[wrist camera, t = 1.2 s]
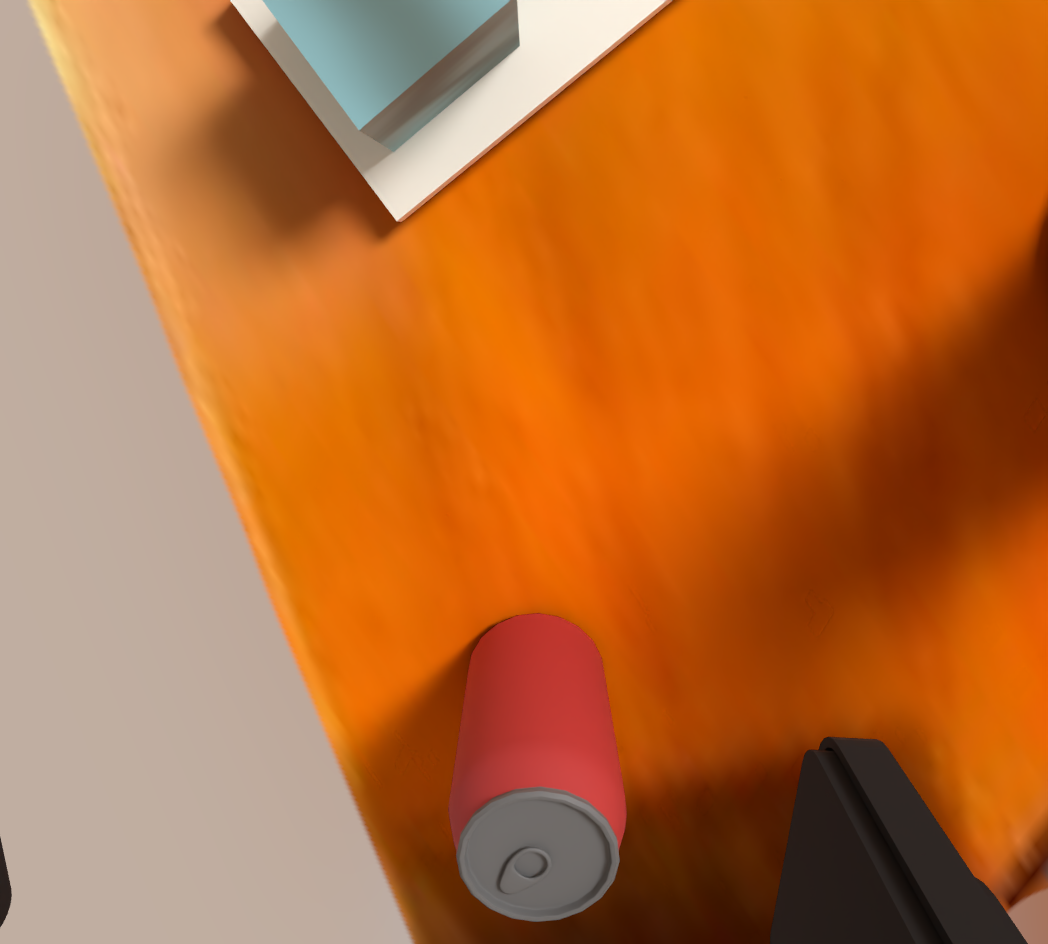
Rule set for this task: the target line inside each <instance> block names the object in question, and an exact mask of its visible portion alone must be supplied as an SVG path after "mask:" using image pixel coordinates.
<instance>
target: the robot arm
mask: <svg viewBox="0 0 1048 944" xmlns="http://www.w3.org/2000/svg"><path fill="white" fill-rule="evenodd" d="M11 896H12V894H11V886H10V881H9V877H8V871H7V867H6V862H5V857H4V852H3V848H2V843H1V838H0V927H1V925H2V924H3V922H4V920H5V918H6V916H7V914H8V910H9V907H10V903H11ZM770 944H1028V943H1027V942H1026V940H1025V939H1024V938H1023V936H1022V934H1021V933H1020V932H1019V930H1018V929H1017V927H1016V926H1015V924H1014V923H1013V921H1012V920H1011V918H1010V917H1009V916H1008V914H1007V913H1006V911H1005V910H1004V908H1003V907H1002V905H1001V904H1000V902H999V901H998V899H997V898H996V897H995V895H994V894H993V893H992V892H991V891H990V890H989V888H988V887H987V886H986V885H985V884H984V883H983V882H982V881H980V880H979V879H977V878H975V877H974V876H973V874H972V873H971V871H970V870H969V868H968V867H967V865H966V864H965V862H964V861H963V859H962V858H961V856H960V855H959V853H958V852H957V850H956V849H955V847H954V846H953V844H952V843H951V841H950V840H949V839H948V837H947V836H946V834H945V833H944V831H943V830H942V828H941V827H940V825H939V824H938V822H937V821H936V819H935V818H934V816H933V815H932V813H931V812H930V810H929V809H928V807H927V806H926V804H925V803H924V801H923V800H922V798H921V797H920V795H919V794H918V792H917V791H916V789H915V788H914V786H913V785H912V783H911V782H910V780H909V779H908V778H907V776H906V775H905V773H904V772H903V770H902V769H901V767H900V766H899V764H898V763H897V761H896V760H895V758H894V757H893V755H892V754H891V752H890V751H889V749H888V748H887V747H886V746H885V745H884V743H883V742H881V741H879V740H877V739H858V738H839V737H827V738H824V739H823V741H822V742H821V744H820V747H819V750H808V751H807V752H806V753H805V755H804V759H803V763H802V768H801V773H800V779H799V784H798V789H797V795H796V800H795V805H794V811H793V816H792V821H791V827H790V832H789V837H788V843H787V848H786V853H785V859H784V864H783V869H782V875H781V880H780V885H779V891H778V896H777V901H776V907H775V912H774V917H773V923H772V928H771V936H770Z"/></svg>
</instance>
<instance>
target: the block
mask: <svg viewBox="0 0 1048 944" xmlns="http://www.w3.org/2000/svg"><path fill="white" fill-rule="evenodd" d="M262 1H263V2H264V3H265V5H266V6H267V7H268V9H269V10H270V11H271V13H272V14H273V15H274V17H275V18H276V19H277V21H278V22H279V23H280V25H281V26H282V27H283V29H284V30H285V32H286V33H287V34H288V36H289V37H290V38H291V40H292V41H293V42H294V44H295V45H296V46H297V48H298V49H299V50H300V52H301V53H302V54H303V56H304V57H305V58H306V60H307V61H308V62H309V64H310V65H311V67H312V68H313V69H314V71H315V72H316V73H317V75H318V76H319V77H320V79H321V80H322V81H323V83H324V84H325V85H326V87H327V88H328V89H329V91H330V92H331V93H332V95H333V96H334V97H335V99H336V100H337V101H338V103H339V104H340V106H341V107H342V108H343V110H344V111H345V112H346V114H347V115H348V116H349V118H350V119H351V120H352V122H353V123H354V124H355V126H356V127H357V128H358V130H359V131H361V132H362V133H364V134H366V135H367V136H369V137H370V138H372V139H374V140H375V141H377V142H378V143H380V144H382V145H383V146H385V147H386V148H388V149H390V150H391V151H393V152H394V151H395V150H397V149H398V148H399V147H400V146H401V145H403V144H404V143H405V142H406V141H407V140H409V139H410V138H411V137H412V136H413V135H414V134H416V133H417V132H418V131H419V130H420V129H422V128H423V127H424V126H425V125H426V124H428V123H429V122H430V121H431V120H432V119H433V118H435V117H436V116H437V115H438V114H439V113H441V112H442V111H443V110H444V109H445V108H447V107H448V106H449V105H450V104H451V103H452V102H454V101H455V100H456V99H457V98H458V97H460V96H461V95H462V94H463V93H464V92H466V91H467V90H468V89H469V88H470V87H471V86H473V85H474V84H475V83H476V82H477V81H479V80H480V79H481V78H482V77H483V76H485V75H486V74H487V73H488V72H489V71H490V70H492V69H493V68H494V67H495V66H496V65H498V64H499V63H500V62H501V61H502V60H504V59H505V58H506V57H507V56H508V55H509V54H511V53H512V52H513V51H514V50H515V49H517V48H518V47H519V46H520V41H519V24H518V6H517V0H262Z"/></svg>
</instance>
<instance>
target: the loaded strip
mask: <svg viewBox="0 0 1048 944" xmlns="http://www.w3.org/2000/svg"><path fill="white" fill-rule="evenodd" d="M230 1H231V2H232V3H233V5H234V6H235V7H236V9H237V10H238V11H239V13H240V14H241V15H242V17H243V18H244V19H245V21H246V22H247V23H248V25H249V26H250V27H251V29H252V30H253V31H254V33H255V34H256V35H257V37H258V38H259V39H260V41H261V42H262V43H263V45H264V46H265V47H266V49H267V50H268V51H269V53H270V54H271V55H272V57H273V58H274V59H275V60H276V62H277V63H278V64H279V66H280V67H281V68H282V70H283V71H284V72H285V74H286V75H287V76H288V78H289V79H290V80H291V82H292V83H293V84H294V86H295V87H296V88H297V90H298V91H299V92H300V94H301V95H302V96H303V98H304V99H305V100H306V102H307V103H308V104H309V106H310V107H311V108H312V110H313V111H314V112H315V114H316V115H317V116H318V118H319V119H320V120H321V121H322V123H323V124H324V125H325V127H326V128H327V129H328V131H329V132H330V133H331V135H332V136H333V137H334V139H335V140H336V141H337V143H338V144H339V145H340V147H341V148H342V149H343V151H344V152H345V153H346V155H347V156H348V157H349V159H350V160H351V161H352V163H353V164H354V165H355V167H356V168H357V169H358V171H359V172H360V173H361V175H362V176H363V177H364V179H365V180H366V181H367V182H368V184H369V185H370V186H371V188H372V189H373V190H374V192H375V193H376V194H377V196H378V197H379V198H380V200H381V201H382V202H383V204H384V205H385V206H386V208H387V209H388V210H389V212H390V213H391V214H392V216H393V217H394V218H395V220H396V221H398V222H402V221H404V220H405V219H406V218H407V217H408V216H410V215H411V214H412V213H413V212H415V211H416V210H417V209H418V208H419V207H421V206H422V205H423V204H424V203H426V202H427V201H428V200H429V199H431V198H432V197H433V196H434V195H435V194H437V193H438V192H439V191H440V190H442V189H443V188H444V187H445V186H446V185H448V184H449V183H450V182H451V181H453V180H454V179H455V178H456V177H457V176H459V175H460V174H461V173H462V172H464V171H465V170H466V169H467V168H468V167H470V166H471V165H472V164H473V163H475V162H476V161H477V160H478V159H479V158H481V157H482V156H483V155H484V154H486V153H487V152H488V151H489V150H490V149H492V148H493V147H494V146H495V145H497V144H498V143H499V142H500V141H501V140H503V139H504V138H505V137H506V136H508V135H509V134H510V133H511V132H513V131H514V130H515V129H516V128H517V127H519V126H520V125H521V124H522V123H524V122H525V121H526V120H527V119H528V118H530V117H531V116H532V115H533V114H535V113H536V112H537V111H538V110H539V109H541V108H542V107H543V106H544V105H546V104H547V103H548V102H549V101H550V100H552V99H553V98H554V97H555V96H557V95H558V94H559V93H560V92H561V91H563V90H564V89H565V88H566V87H568V86H569V85H570V84H571V83H572V82H574V81H575V80H576V79H577V78H579V77H580V76H581V75H582V74H583V73H585V72H586V71H587V70H588V69H590V68H591V67H592V66H593V65H594V64H596V63H597V62H598V61H599V60H601V59H602V58H603V57H604V56H606V55H607V54H608V53H609V52H610V51H612V50H613V49H614V48H615V47H617V46H618V45H619V44H620V43H621V42H623V41H624V40H625V39H626V38H628V37H629V36H630V35H631V34H632V33H634V32H635V31H636V30H637V29H639V28H640V27H641V26H642V25H643V24H645V23H646V22H647V21H648V20H650V19H651V18H652V17H653V16H654V15H656V14H657V13H658V12H659V11H661V10H662V9H663V8H664V7H665V6H667V5H668V4H669V3H670V2H672V1H673V0H517V6H518V24H519V41H520V46H519V47H518V48H517V49H515V50H514V51H513V52H512V53H511V54H509V55H508V56H507V57H506V58H505V59H504V60H502V61H501V62H500V63H499V64H498V65H496V66H495V67H494V68H493V69H492V70H490V71H489V72H488V73H487V74H486V75H485V76H483V77H482V78H481V79H480V80H479V81H477V82H476V83H475V84H474V85H473V86H471V87H470V88H469V89H468V90H467V91H466V92H464V93H463V94H462V95H461V96H460V97H458V98H457V99H456V100H455V101H454V102H452V103H451V104H450V105H449V106H448V107H447V108H445V109H444V110H443V111H442V112H441V113H439V114H438V115H437V116H436V117H435V118H433V119H432V120H431V121H430V122H429V123H428V124H426V125H425V126H424V127H423V128H422V129H420V130H419V131H418V132H417V133H416V134H414V135H413V136H412V137H411V138H410V139H409V140H407V141H406V142H405V143H404V144H403V145H401V146H400V147H399V148H398V149H397V150H395V151H394V152H393V151H391V150H390V149H388V148H386V147H385V146H383V145H382V144H380V143H378V142H377V141H375V140H374V139H372V138H370V137H369V136H367V135H366V134H364V133H362V132H361V131H359V130H358V128H357V127H356V126H355V124H354V123H353V122H352V120H351V119H350V118H349V116H348V115H347V114H346V112H345V111H344V110H343V108H342V107H341V106H340V104H339V103H338V101H337V100H336V99H335V97H334V96H333V95H332V93H331V92H330V91H329V89H328V88H327V87H326V85H325V84H324V83H323V81H322V80H321V79H320V77H319V76H318V75H317V73H316V72H315V71H314V69H313V68H312V67H311V65H310V64H309V62H308V61H307V60H306V58H305V57H304V56H303V54H302V53H301V52H300V50H299V49H298V48H297V46H296V45H295V44H294V42H293V41H292V40H291V38H290V37H289V36H288V34H287V33H286V32H285V30H284V29H283V27H282V26H281V25H280V23H279V22H278V21H277V19H276V18H275V17H274V15H273V14H272V13H271V11H270V10H269V9H268V7H267V6H266V5H265V3H264V2H263V1H262V0H230Z"/></svg>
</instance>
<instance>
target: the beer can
mask: <svg viewBox="0 0 1048 944" xmlns="http://www.w3.org/2000/svg"><path fill="white" fill-rule="evenodd" d="M448 811H449V818H450V824H451V830H452V835H453V840H454V845H455V848H456V851H457V855H456V857H457V862H458V867H459V872H460V876H461V878H462V880H463V881H464V883H465V884H466V886H467V888H468V889H469V891H470V892H471V894H472V895H473V896H475V897H476V898H477V899H478V900H479V901H481V902H482V903H483V904H484V905H486V906H487V907H488V908H489V909H492V910H494V911H496V912H499V913H501V914H503V915H506V916H508V917H510V918H514V919H520V920H527V921H534V922H539V921H549V920H559V919H562V918H565V917H568V916H571V915H573V914H576V913H579V912H582V911H584V910H585V909H586V908H588V907H589V906H591V905H592V904H593V903H595V902H596V901H598V900H599V899H600V898H602V896H603V895H604V893H605V892H606V891H607V889H608V888H609V887H610V885H611V884H612V883H613V881H614V879H615V875H616V872H617V868H618V865H619V861H620V859H619V848H620V845H621V841H622V838H623V834H624V830H625V824H626V816H627V812H626V803H625V794H624V787H623V781H622V775H621V769H620V763H619V757H618V751H617V746H616V740H615V734H614V728H613V722H612V716H611V710H610V704H609V698H608V692H607V686H606V680H605V675H604V669H603V663H602V658H601V656H600V654H599V652H598V650H597V648H596V646H595V644H594V642H593V640H592V639H591V638H590V637H589V636H588V635H587V634H586V633H585V632H583V631H582V630H581V629H580V628H579V627H578V626H576V625H574V624H572V623H570V622H568V621H566V620H564V619H562V618H560V617H557V616H551V615H546V614H540V613H535V614H526V615H517V616H515V617H513V618H510V619H508V620H505V621H503V622H501V623H498V624H497V625H495V626H494V627H493V628H492V629H491V630H490V631H488V632H487V633H486V634H485V635H484V636H483V637H481V639H480V641H479V642H478V644H477V646H476V647H475V649H474V651H473V652H472V654H471V659H470V664H469V670H468V676H467V682H466V689H465V696H464V703H463V710H462V717H461V724H460V731H459V738H458V745H457V752H456V759H455V766H454V772H453V779H452V786H451V793H450V800H449V807H448Z"/></svg>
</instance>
